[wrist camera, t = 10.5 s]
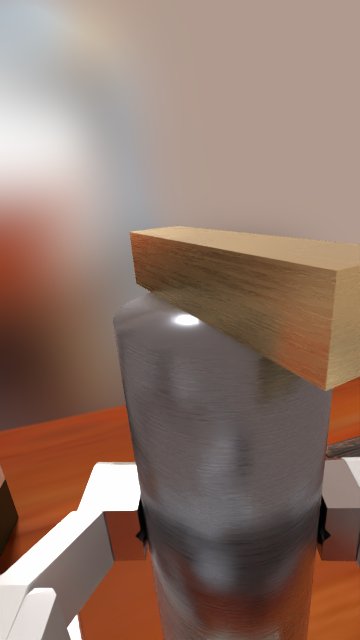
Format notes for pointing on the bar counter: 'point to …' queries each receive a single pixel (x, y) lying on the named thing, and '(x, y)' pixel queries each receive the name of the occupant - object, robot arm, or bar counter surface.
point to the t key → (235, 419)
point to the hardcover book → (344, 449)
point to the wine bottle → (6, 512)
